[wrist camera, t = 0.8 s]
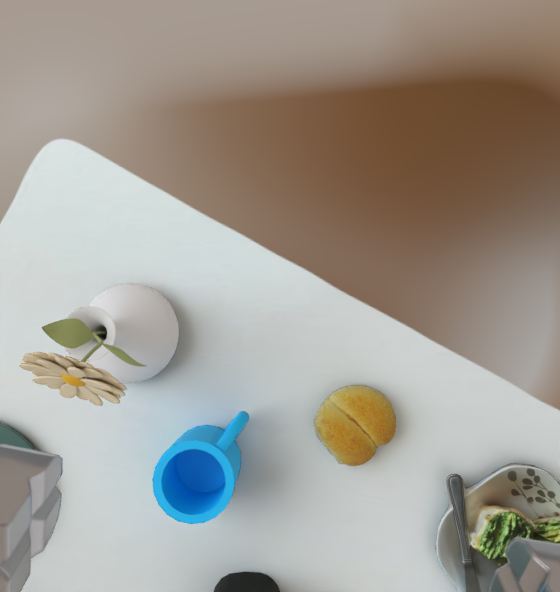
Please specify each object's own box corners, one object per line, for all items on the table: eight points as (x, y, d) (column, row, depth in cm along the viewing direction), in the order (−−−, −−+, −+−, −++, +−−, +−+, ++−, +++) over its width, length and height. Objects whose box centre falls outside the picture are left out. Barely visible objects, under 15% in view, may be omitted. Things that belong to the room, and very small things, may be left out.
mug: (210, 511, 58) (198, 541, 50) (156, 465, 58) (135, 487, 50) (276, 429, 59) (275, 445, 50) (222, 384, 59) (212, 393, 51)
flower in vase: (66, 343, 59) (-92, 352, 34) (124, 265, 60) (11, 219, 35) (153, 409, 59) (58, 468, 34) (212, 330, 59) (160, 331, 34)
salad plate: (388, 512, 58) (397, 527, 53) (513, 421, 58) (533, 429, 54) (490, 656, 57) (508, 685, 52) (616, 562, 57) (645, 583, 53)
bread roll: (406, 421, 58) (415, 428, 54) (348, 473, 58) (353, 483, 54) (359, 367, 59) (364, 370, 55) (301, 418, 59) (302, 424, 55)
